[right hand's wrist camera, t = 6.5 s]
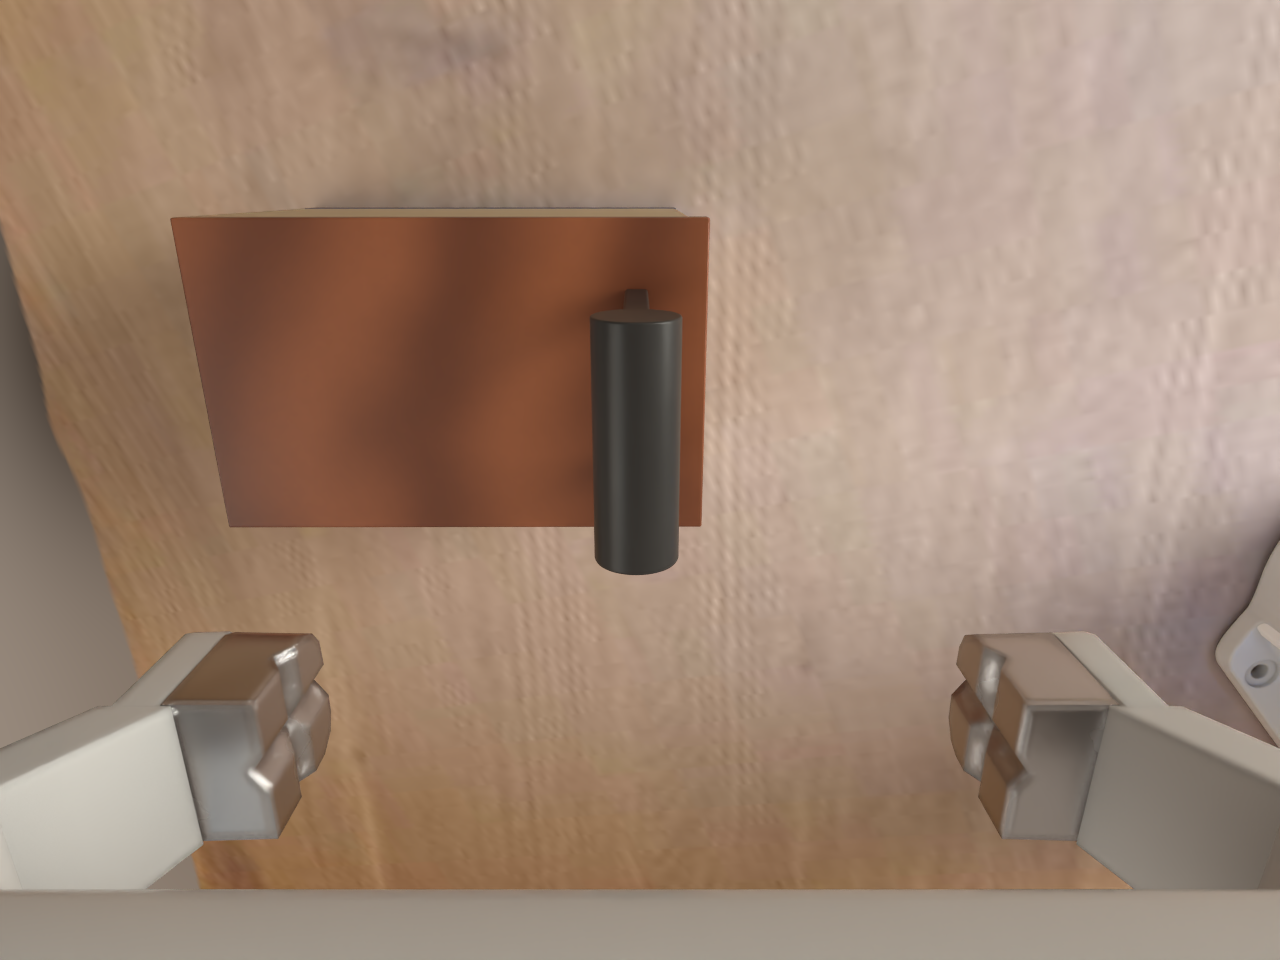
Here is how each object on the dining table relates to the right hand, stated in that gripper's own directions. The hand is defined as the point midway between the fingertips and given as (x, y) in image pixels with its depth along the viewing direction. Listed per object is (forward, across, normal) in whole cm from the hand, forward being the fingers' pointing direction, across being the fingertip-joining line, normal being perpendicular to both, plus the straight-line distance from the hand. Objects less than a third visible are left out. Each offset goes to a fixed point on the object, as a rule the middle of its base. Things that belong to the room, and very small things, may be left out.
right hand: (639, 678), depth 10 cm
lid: (+17, +6, 0) cm, 18 cm away
